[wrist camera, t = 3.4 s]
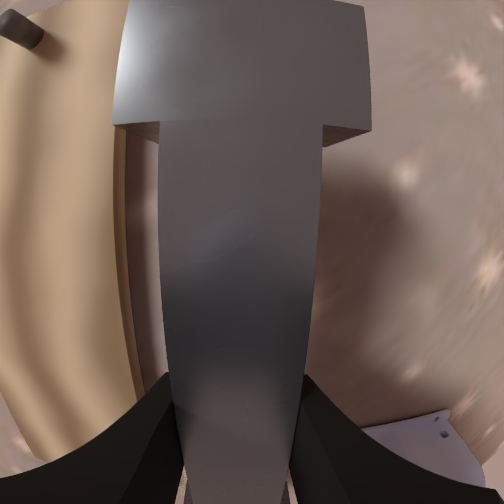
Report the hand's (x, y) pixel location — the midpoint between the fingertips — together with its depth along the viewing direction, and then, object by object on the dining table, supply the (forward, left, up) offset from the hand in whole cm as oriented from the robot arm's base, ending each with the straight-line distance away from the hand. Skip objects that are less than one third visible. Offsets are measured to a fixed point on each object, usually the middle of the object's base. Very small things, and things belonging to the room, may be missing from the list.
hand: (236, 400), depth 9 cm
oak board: (+12, -1, -7) cm, 13 cm away
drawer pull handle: (0, 0, -2) cm, 2 cm away
